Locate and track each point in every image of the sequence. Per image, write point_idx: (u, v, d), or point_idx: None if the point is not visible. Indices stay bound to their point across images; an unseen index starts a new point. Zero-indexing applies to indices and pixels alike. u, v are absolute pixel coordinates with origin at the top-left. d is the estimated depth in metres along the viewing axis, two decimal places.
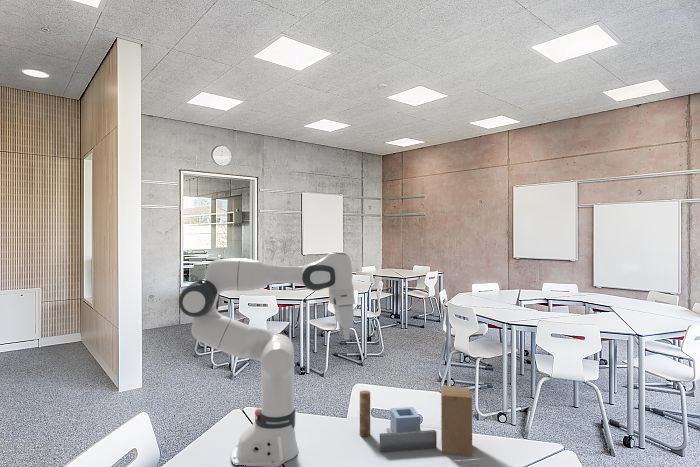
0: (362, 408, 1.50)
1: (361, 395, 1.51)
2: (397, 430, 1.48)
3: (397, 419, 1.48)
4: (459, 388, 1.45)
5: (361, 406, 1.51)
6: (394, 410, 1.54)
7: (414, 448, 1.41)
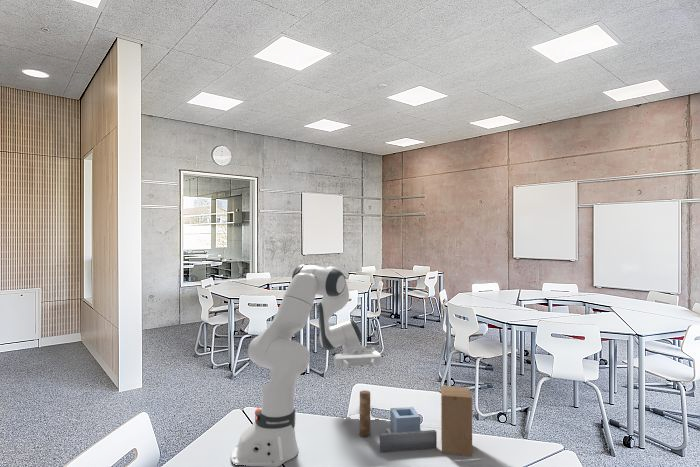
0: (362, 408, 1.50)
1: (361, 395, 1.51)
2: (397, 430, 1.48)
3: (397, 419, 1.48)
4: (459, 388, 1.45)
5: (361, 406, 1.51)
6: (394, 410, 1.54)
7: (414, 448, 1.41)
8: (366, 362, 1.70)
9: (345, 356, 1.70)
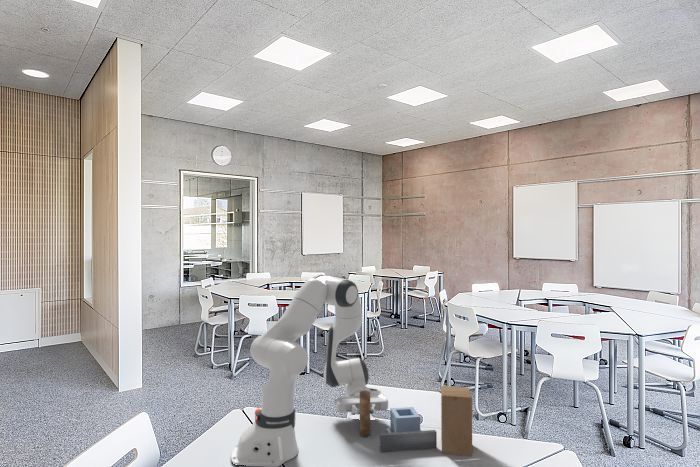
0: (362, 408, 1.50)
1: (361, 395, 1.51)
2: (397, 430, 1.48)
3: (397, 419, 1.48)
4: (459, 388, 1.45)
5: (361, 406, 1.51)
6: (394, 410, 1.54)
7: (414, 448, 1.41)
8: None
9: (349, 400, 1.57)
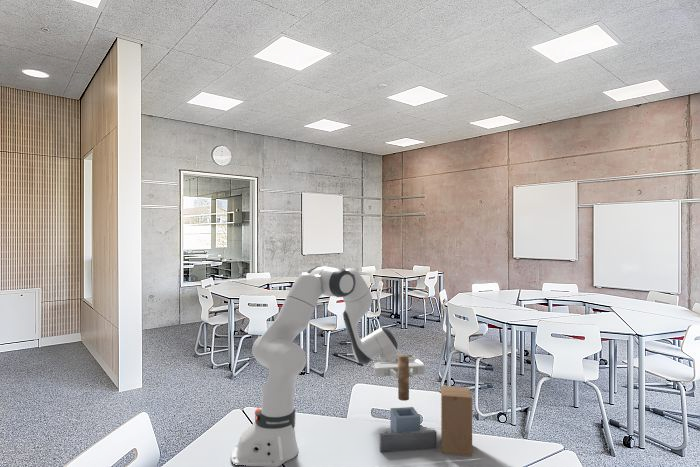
0: (401, 371, 1.52)
1: (400, 358, 1.52)
2: (397, 430, 1.48)
3: (397, 419, 1.48)
4: (459, 388, 1.45)
5: (400, 370, 1.52)
6: (394, 410, 1.54)
7: (414, 448, 1.41)
8: None
9: (386, 365, 1.58)
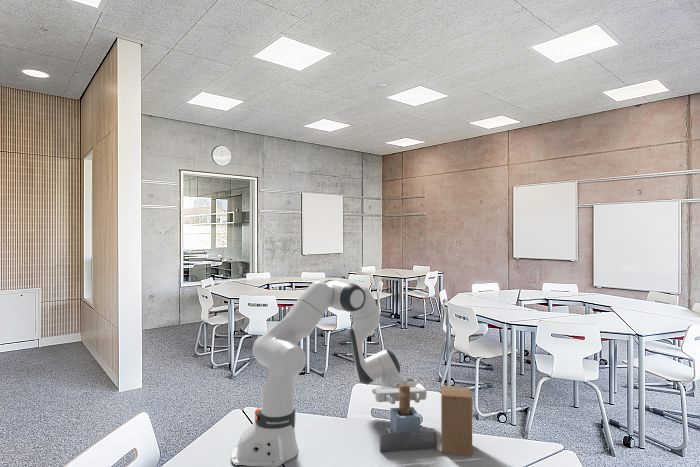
0: (402, 401, 1.51)
1: (401, 388, 1.52)
2: (397, 430, 1.48)
3: (397, 419, 1.48)
4: (459, 388, 1.45)
5: (401, 400, 1.51)
6: (394, 410, 1.54)
7: (414, 448, 1.41)
8: (410, 397, 1.58)
9: (387, 390, 1.58)
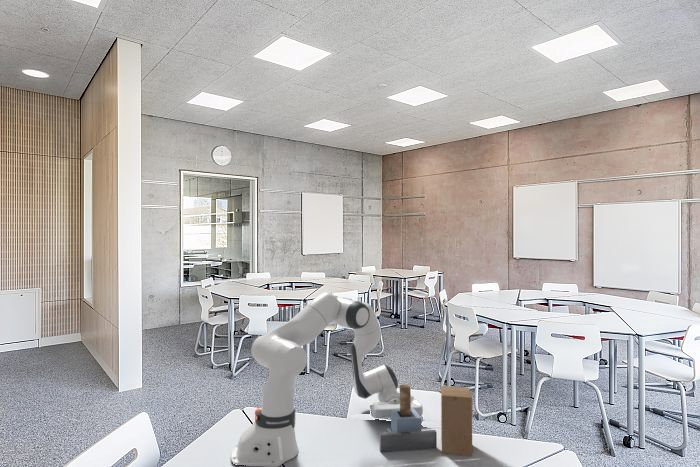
0: (402, 402, 1.50)
1: (401, 389, 1.51)
2: (398, 431, 1.46)
3: (398, 420, 1.47)
4: (459, 388, 1.45)
5: (401, 400, 1.51)
6: (395, 411, 1.53)
7: (414, 448, 1.41)
8: None
9: (384, 406, 1.62)
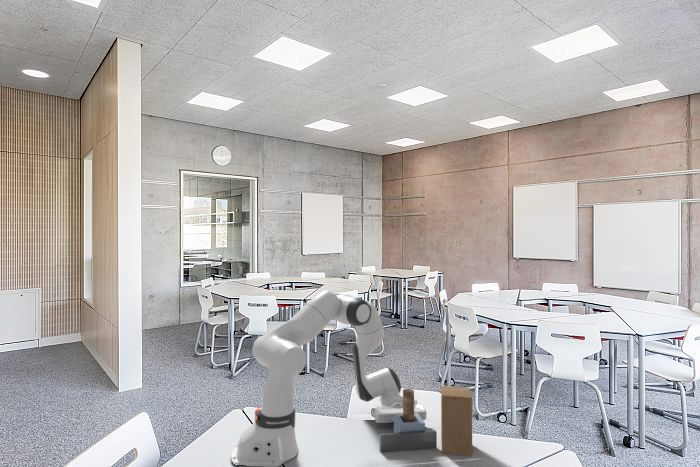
0: (406, 407, 1.46)
1: (405, 394, 1.46)
2: None
3: (401, 426, 1.42)
4: (459, 388, 1.45)
5: (405, 405, 1.46)
6: (398, 416, 1.49)
7: (414, 448, 1.41)
8: None
9: (387, 411, 1.58)
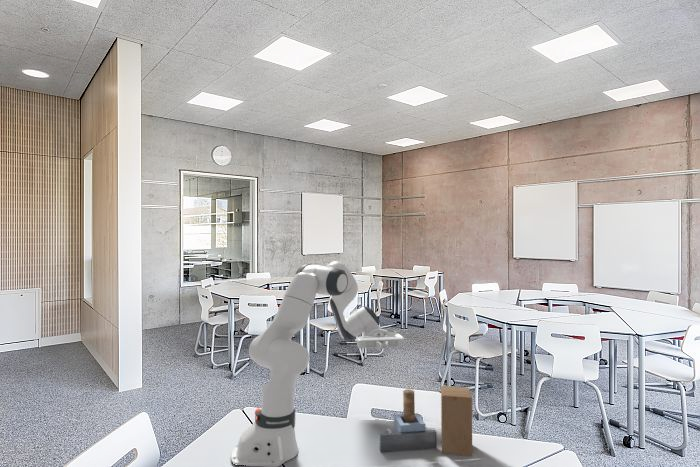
0: (406, 408, 1.45)
1: (405, 394, 1.45)
2: None
3: (401, 426, 1.42)
4: (459, 388, 1.45)
5: (405, 406, 1.45)
6: (398, 417, 1.48)
7: (414, 448, 1.41)
8: (389, 344, 1.71)
9: (368, 338, 1.71)
